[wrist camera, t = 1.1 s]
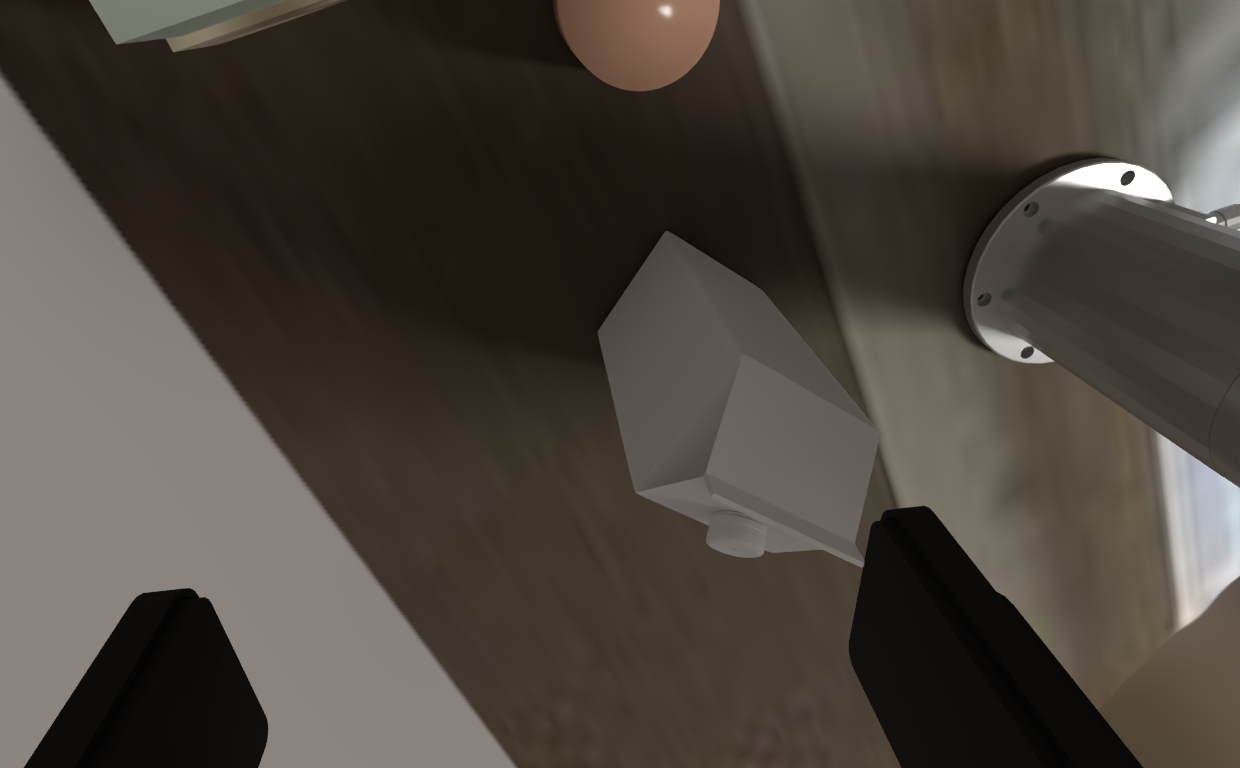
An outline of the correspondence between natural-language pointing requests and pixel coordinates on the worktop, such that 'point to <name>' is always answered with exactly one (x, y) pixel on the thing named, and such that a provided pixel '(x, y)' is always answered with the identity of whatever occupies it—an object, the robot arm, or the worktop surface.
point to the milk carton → (733, 411)
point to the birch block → (248, 24)
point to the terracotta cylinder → (637, 38)
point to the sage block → (168, 16)
